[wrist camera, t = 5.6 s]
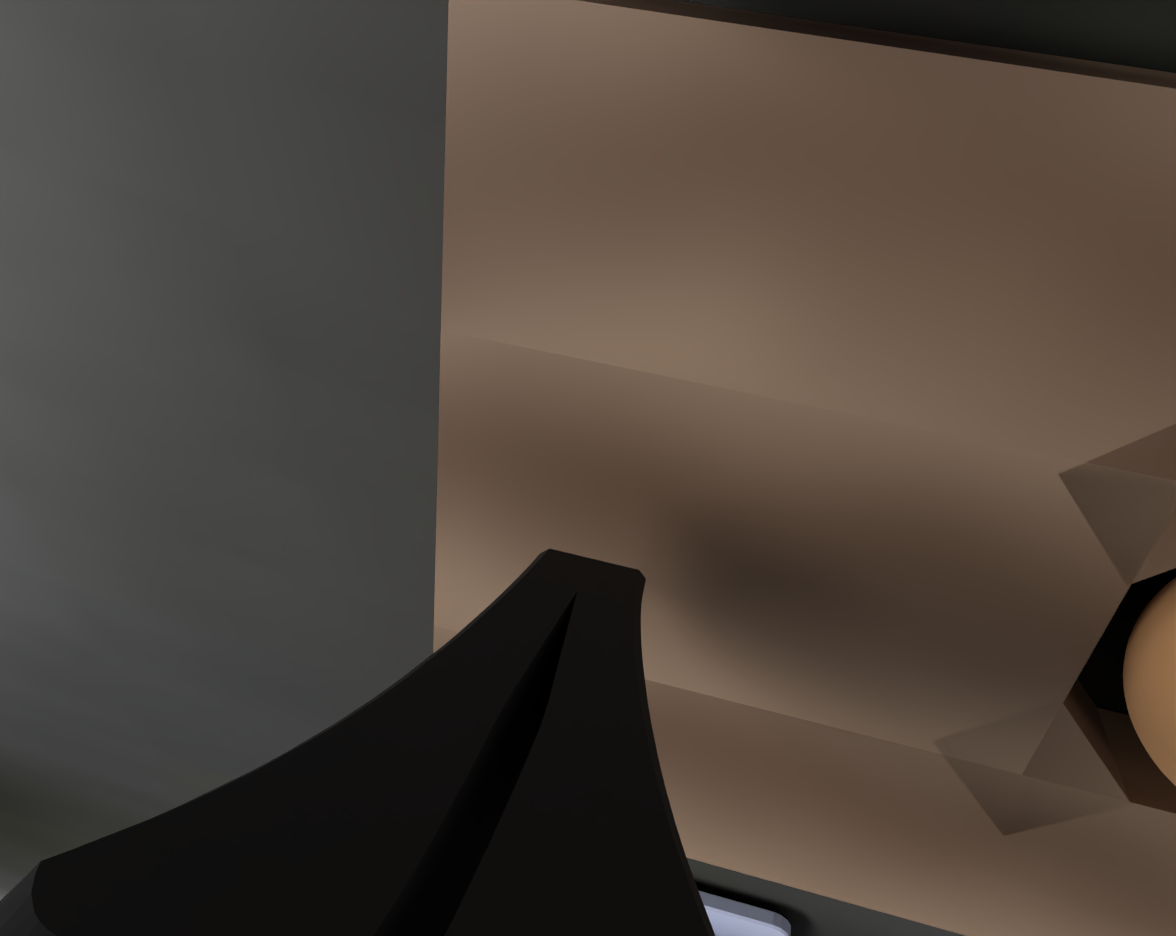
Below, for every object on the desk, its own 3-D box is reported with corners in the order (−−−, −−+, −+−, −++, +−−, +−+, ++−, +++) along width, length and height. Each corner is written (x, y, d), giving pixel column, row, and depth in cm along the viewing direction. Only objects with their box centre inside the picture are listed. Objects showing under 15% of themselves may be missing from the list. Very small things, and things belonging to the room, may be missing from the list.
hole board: (1313, 936, 17) (1366, 1047, 15) (465, 711, 19) (430, 785, 17) (2047, 200, 9) (2314, 256, 8) (503, -25, 12) (449, -18, 10)
